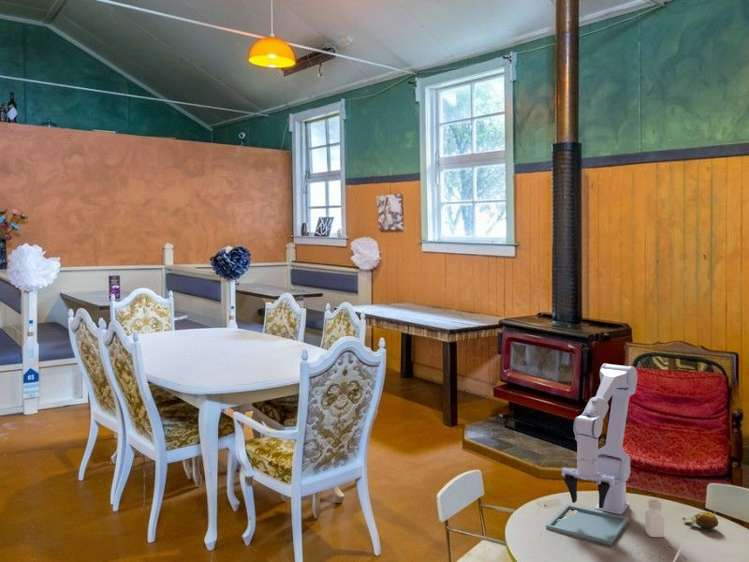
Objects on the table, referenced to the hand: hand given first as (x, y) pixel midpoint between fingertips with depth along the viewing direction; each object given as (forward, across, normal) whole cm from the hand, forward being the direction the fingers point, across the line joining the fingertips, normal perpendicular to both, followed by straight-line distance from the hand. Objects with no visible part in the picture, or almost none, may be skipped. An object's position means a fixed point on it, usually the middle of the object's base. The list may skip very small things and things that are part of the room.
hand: (587, 504), depth 182 cm
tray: (+6, 0, 0) cm, 6 cm away
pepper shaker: (+7, +17, +5) cm, 19 cm away
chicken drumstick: (+8, +23, +20) cm, 32 cm away
